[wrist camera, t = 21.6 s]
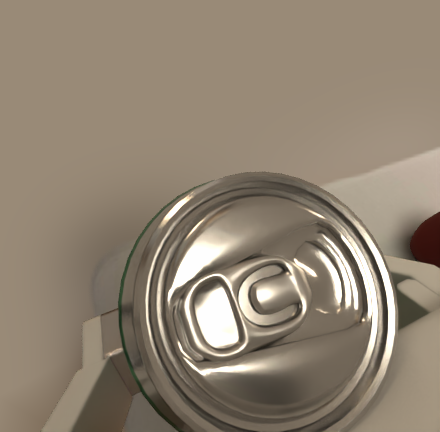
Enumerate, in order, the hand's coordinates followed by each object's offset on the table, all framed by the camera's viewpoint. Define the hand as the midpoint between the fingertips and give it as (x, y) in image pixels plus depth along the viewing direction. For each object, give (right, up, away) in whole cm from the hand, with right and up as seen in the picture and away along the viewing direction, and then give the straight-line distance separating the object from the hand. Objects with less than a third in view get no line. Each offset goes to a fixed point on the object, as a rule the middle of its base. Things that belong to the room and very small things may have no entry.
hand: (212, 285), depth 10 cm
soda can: (-1, -2, +6) cm, 7 cm away
